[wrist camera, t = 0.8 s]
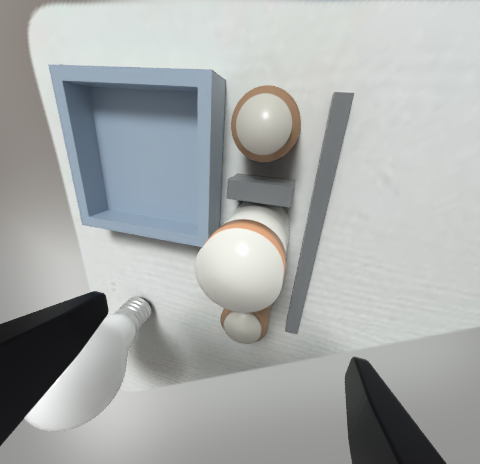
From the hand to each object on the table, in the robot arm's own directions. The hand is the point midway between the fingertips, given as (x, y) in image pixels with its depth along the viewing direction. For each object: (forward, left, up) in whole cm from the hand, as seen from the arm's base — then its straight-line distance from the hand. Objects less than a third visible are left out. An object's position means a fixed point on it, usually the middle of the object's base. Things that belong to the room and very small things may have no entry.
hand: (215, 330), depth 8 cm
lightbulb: (+11, +11, -11) cm, 19 cm away
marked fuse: (0, 0, -11) cm, 11 cm away
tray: (+9, -4, -10) cm, 14 cm away
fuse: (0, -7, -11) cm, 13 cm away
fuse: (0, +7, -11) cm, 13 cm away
